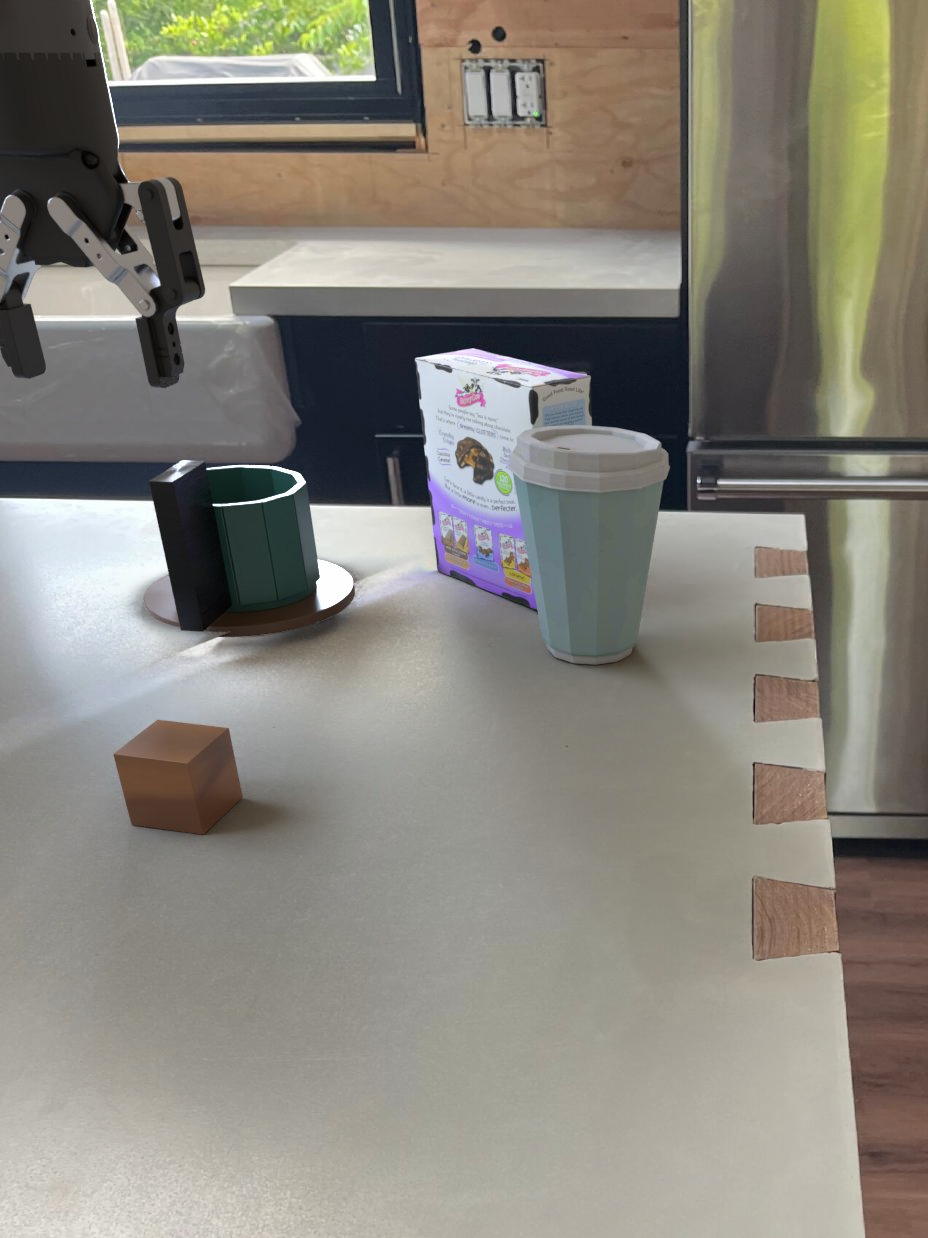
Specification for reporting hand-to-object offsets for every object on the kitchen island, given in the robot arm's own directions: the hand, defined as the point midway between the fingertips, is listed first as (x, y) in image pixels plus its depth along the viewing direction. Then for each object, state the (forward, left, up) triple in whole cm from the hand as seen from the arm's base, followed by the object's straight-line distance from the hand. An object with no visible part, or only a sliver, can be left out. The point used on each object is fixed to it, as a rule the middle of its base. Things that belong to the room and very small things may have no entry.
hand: (98, 380), depth 77 cm
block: (-10, -14, -20) cm, 26 cm away
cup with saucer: (+12, +6, -18) cm, 23 cm away
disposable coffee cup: (+22, -19, -20) cm, 35 cm away
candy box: (+29, -6, -20) cm, 36 cm away
